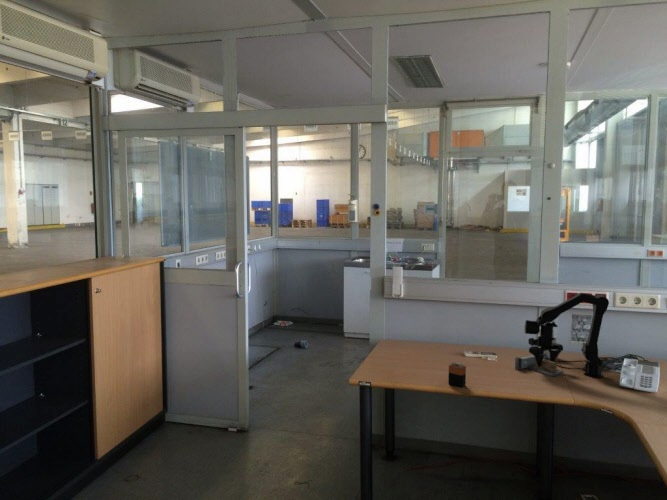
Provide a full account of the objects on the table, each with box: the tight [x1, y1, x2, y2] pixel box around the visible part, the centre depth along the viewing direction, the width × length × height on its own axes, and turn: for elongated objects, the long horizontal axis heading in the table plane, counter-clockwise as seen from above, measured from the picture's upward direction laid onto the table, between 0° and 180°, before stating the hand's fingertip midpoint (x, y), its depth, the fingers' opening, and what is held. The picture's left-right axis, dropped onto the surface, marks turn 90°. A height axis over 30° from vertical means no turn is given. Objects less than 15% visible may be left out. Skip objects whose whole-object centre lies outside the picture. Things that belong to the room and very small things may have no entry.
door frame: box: [514, 353, 547, 371], centre depth 260 cm, size 20×2×6 cm, turn 119°
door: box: [520, 355, 535, 370], centre depth 260 cm, size 16×3×5 cm, turn 119°
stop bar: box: [535, 359, 558, 372], centre depth 253 cm, size 10×4×5 cm, turn 30°
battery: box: [447, 362, 467, 388], centre depth 232 cm, size 4×7×10 cm, turn 51°
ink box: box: [537, 329, 557, 359], centre depth 278 cm, size 9×5×15 cm, turn 84°
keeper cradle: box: [527, 364, 564, 378], centre depth 253 cm, size 14×8×2 cm, turn 29°
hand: (545, 365), depth 253 cm, fingers open, 9 cm apart
